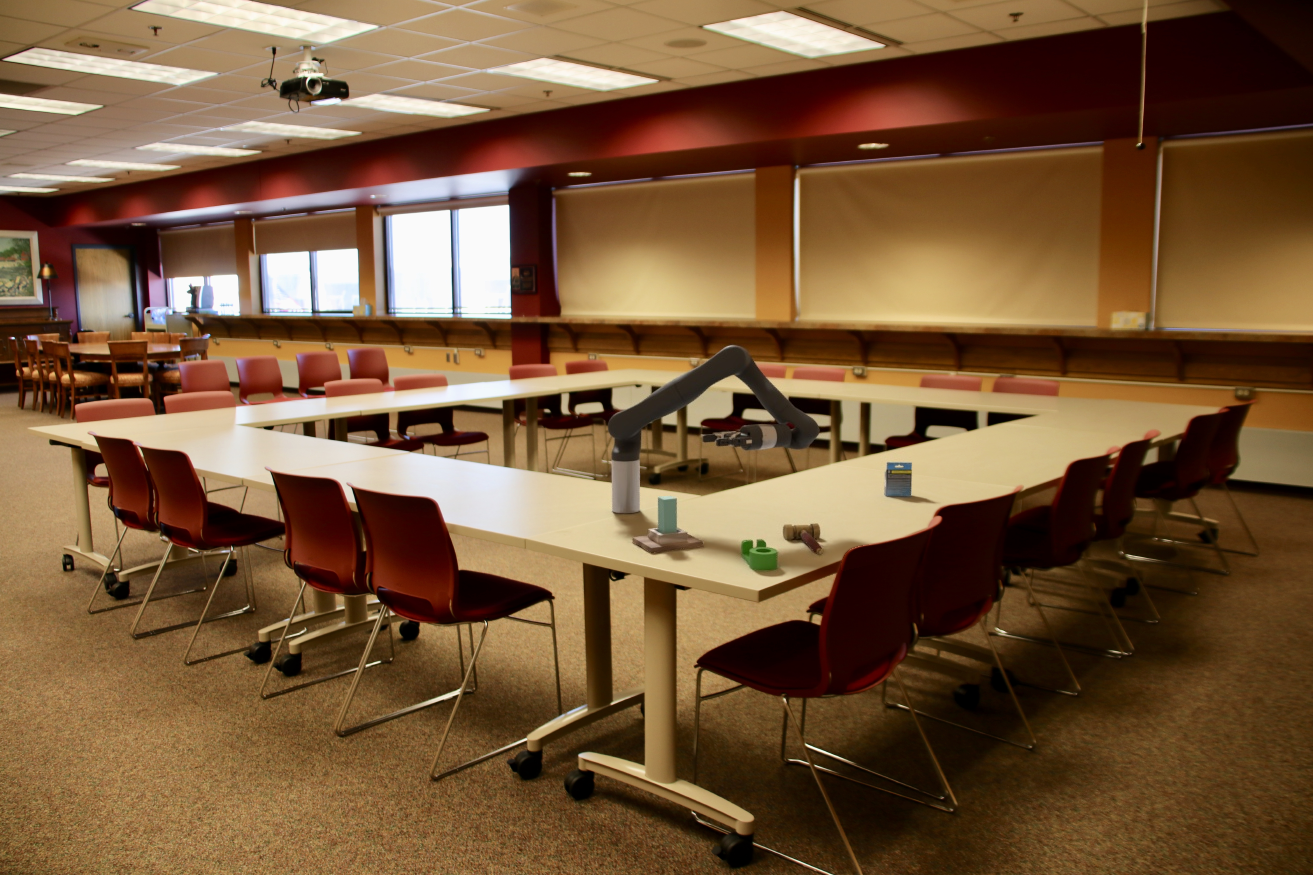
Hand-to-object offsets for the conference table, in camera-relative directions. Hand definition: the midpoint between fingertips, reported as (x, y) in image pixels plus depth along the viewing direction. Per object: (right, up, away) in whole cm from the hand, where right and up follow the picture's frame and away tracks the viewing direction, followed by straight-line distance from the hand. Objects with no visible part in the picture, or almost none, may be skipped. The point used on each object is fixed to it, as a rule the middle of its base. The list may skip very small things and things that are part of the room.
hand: (709, 440), depth 263 cm
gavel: (+28, -30, -9) cm, 42 cm away
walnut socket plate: (-12, -29, -7) cm, 33 cm away
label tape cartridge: (+70, -20, +57) cm, 93 cm away
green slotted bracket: (+12, -32, -26) cm, 43 cm away
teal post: (-12, -28, -7) cm, 31 cm away
